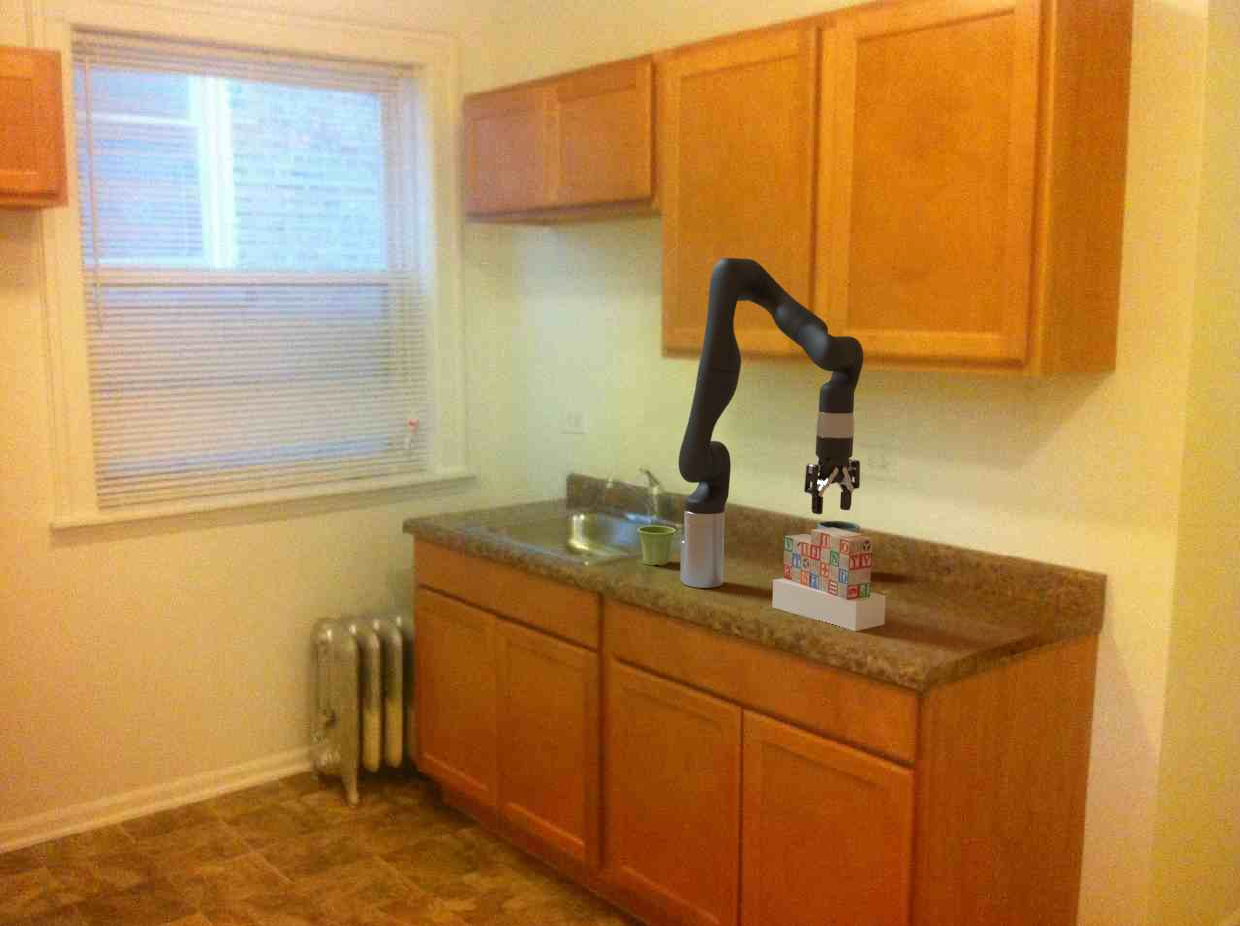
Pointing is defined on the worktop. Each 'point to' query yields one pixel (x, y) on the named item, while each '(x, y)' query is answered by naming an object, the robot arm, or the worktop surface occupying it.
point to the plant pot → (656, 544)
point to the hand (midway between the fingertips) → (831, 511)
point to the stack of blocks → (830, 561)
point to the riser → (828, 605)
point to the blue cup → (840, 525)
